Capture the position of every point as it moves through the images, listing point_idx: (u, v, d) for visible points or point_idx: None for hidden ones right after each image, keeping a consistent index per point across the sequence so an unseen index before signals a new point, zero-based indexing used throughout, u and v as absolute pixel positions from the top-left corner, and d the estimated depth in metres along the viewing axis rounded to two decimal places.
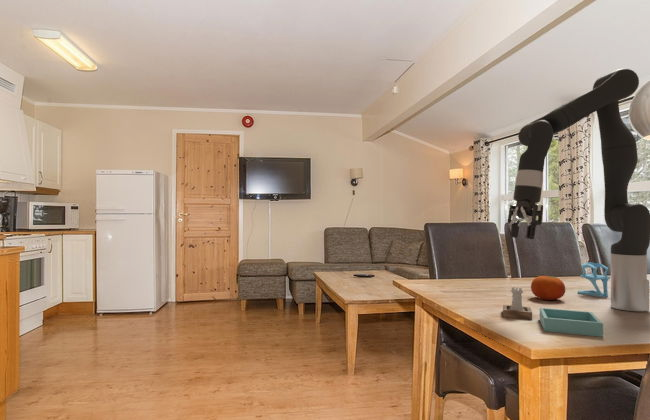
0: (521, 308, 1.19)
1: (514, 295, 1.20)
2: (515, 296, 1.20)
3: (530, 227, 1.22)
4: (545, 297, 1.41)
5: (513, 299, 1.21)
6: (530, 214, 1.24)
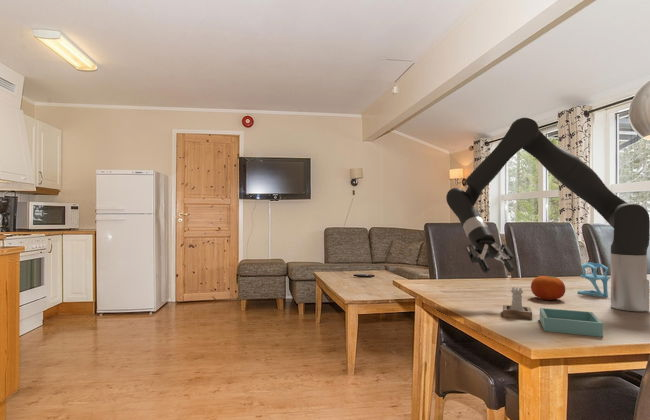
0: (521, 308, 1.19)
1: (514, 295, 1.20)
2: (515, 296, 1.20)
3: None
4: (545, 297, 1.41)
5: (513, 299, 1.21)
6: (481, 253, 1.33)
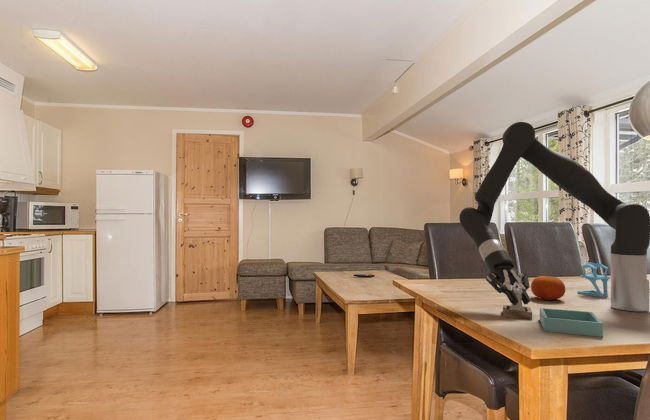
0: (521, 308, 1.19)
1: None
2: None
3: None
4: (545, 297, 1.41)
5: None
6: None
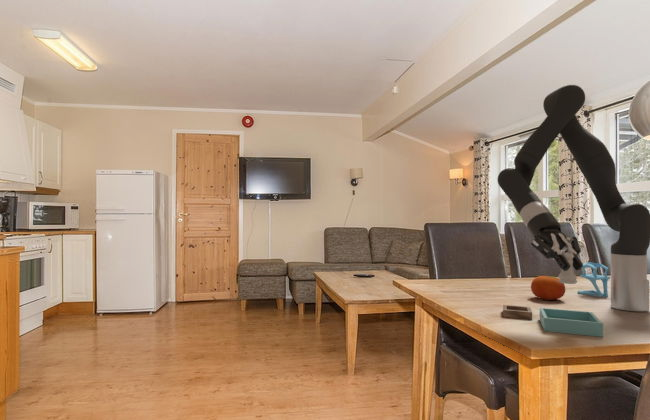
0: (573, 274, 1.07)
1: None
2: None
3: None
4: (545, 297, 1.41)
5: None
6: None
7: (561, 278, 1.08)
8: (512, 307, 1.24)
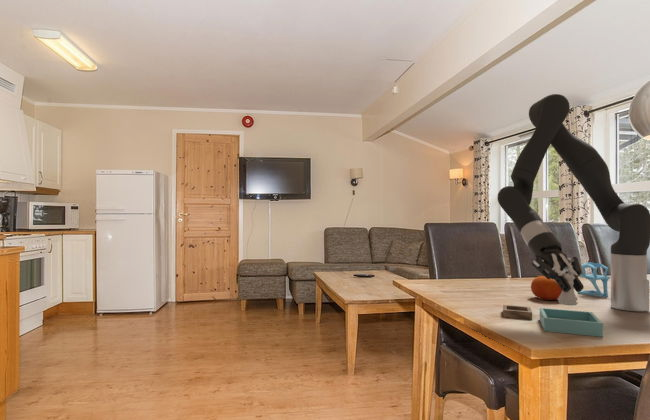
0: (573, 296, 1.07)
1: None
2: None
3: None
4: (545, 297, 1.41)
5: None
6: None
7: (561, 299, 1.08)
8: (512, 307, 1.24)
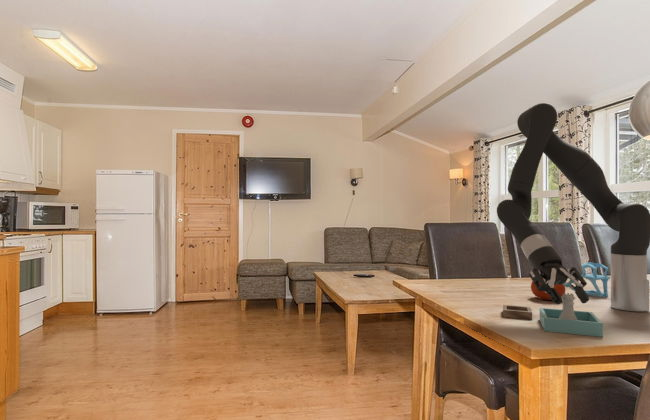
0: (573, 316, 1.07)
1: (565, 302, 1.08)
2: (566, 303, 1.07)
3: None
4: (545, 297, 1.41)
5: (564, 306, 1.08)
6: (548, 278, 1.11)
7: None
8: (512, 307, 1.24)
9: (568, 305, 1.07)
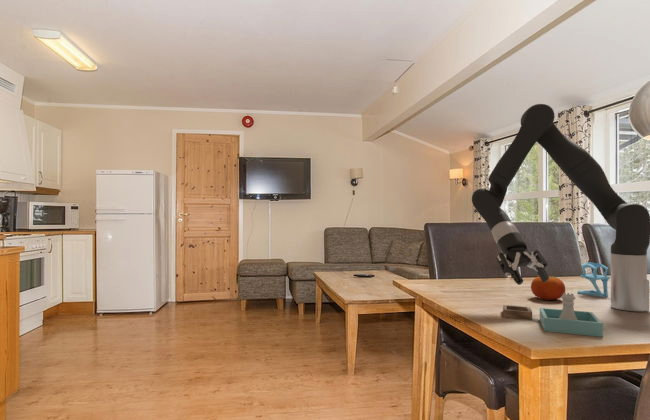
0: (573, 316, 1.07)
1: (565, 302, 1.08)
2: (566, 303, 1.07)
3: None
4: (545, 297, 1.41)
5: (564, 306, 1.08)
6: (513, 261, 1.25)
7: None
8: (512, 307, 1.24)
9: (568, 305, 1.07)
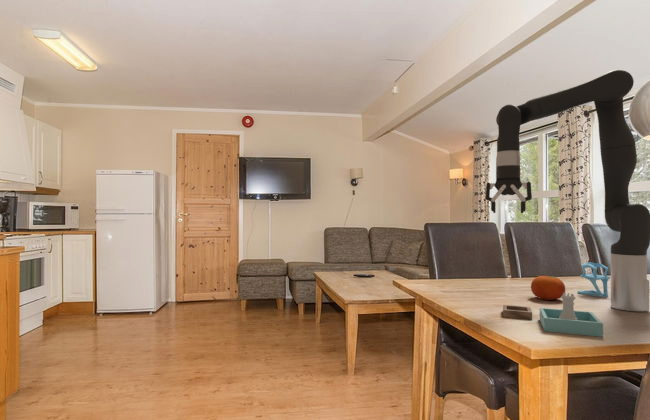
0: (573, 316, 1.07)
1: (565, 302, 1.08)
2: (566, 303, 1.07)
3: None
4: (545, 297, 1.41)
5: (564, 306, 1.08)
6: None
7: None
8: (512, 307, 1.24)
9: (568, 305, 1.07)
